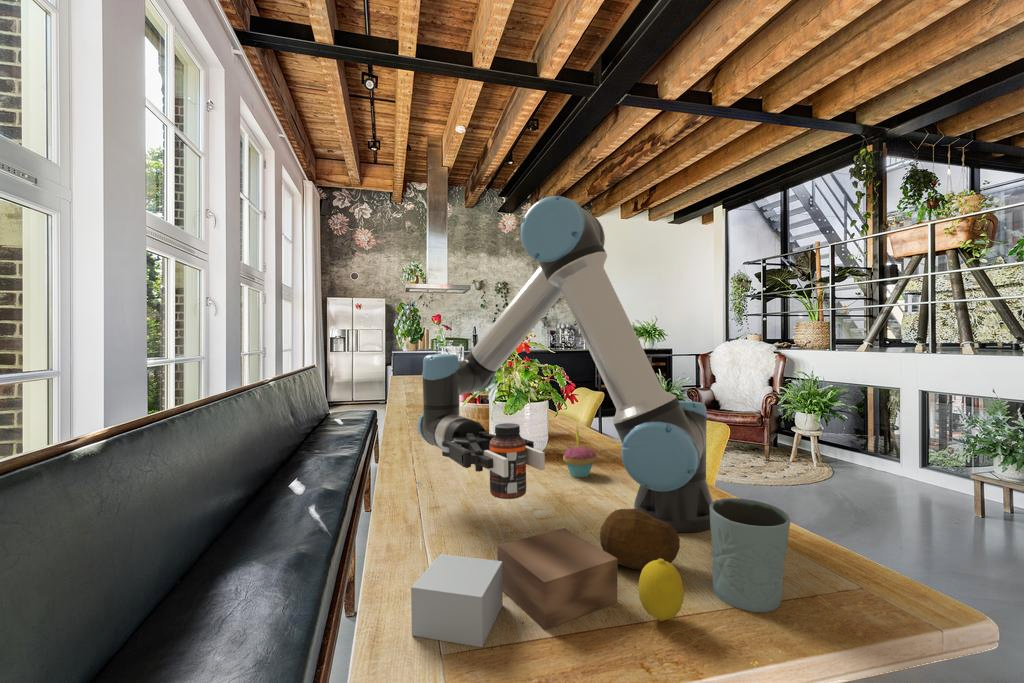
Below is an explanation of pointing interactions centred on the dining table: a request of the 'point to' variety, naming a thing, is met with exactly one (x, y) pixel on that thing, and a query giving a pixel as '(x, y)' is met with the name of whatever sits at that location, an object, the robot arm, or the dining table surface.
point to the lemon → (661, 589)
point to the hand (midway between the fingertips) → (524, 464)
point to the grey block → (457, 599)
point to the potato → (638, 538)
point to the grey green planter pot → (748, 553)
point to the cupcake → (579, 459)
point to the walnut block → (557, 576)
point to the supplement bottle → (509, 462)
